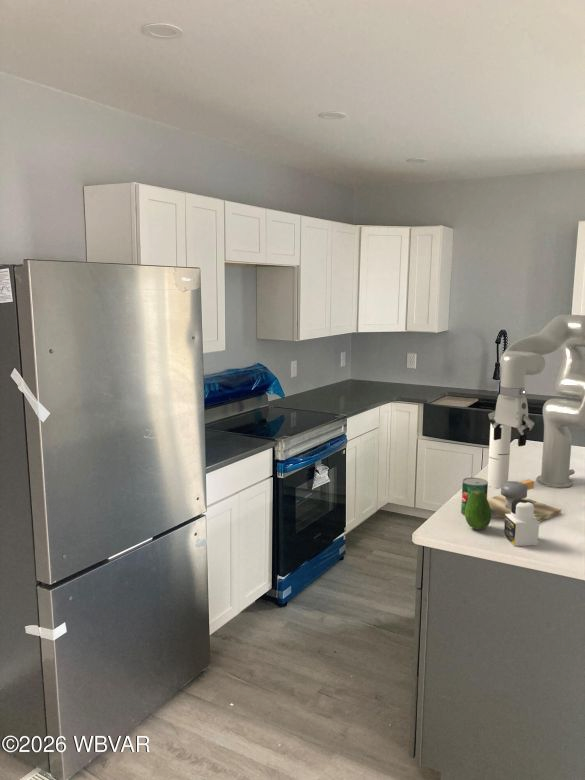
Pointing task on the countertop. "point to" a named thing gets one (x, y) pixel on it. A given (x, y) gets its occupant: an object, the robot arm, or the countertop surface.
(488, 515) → the avocado
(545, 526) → the countertop surface
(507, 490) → the grey paddle
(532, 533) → the medicine bottle
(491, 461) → the cylindrical container
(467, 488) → the canned tomato
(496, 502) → the plate
